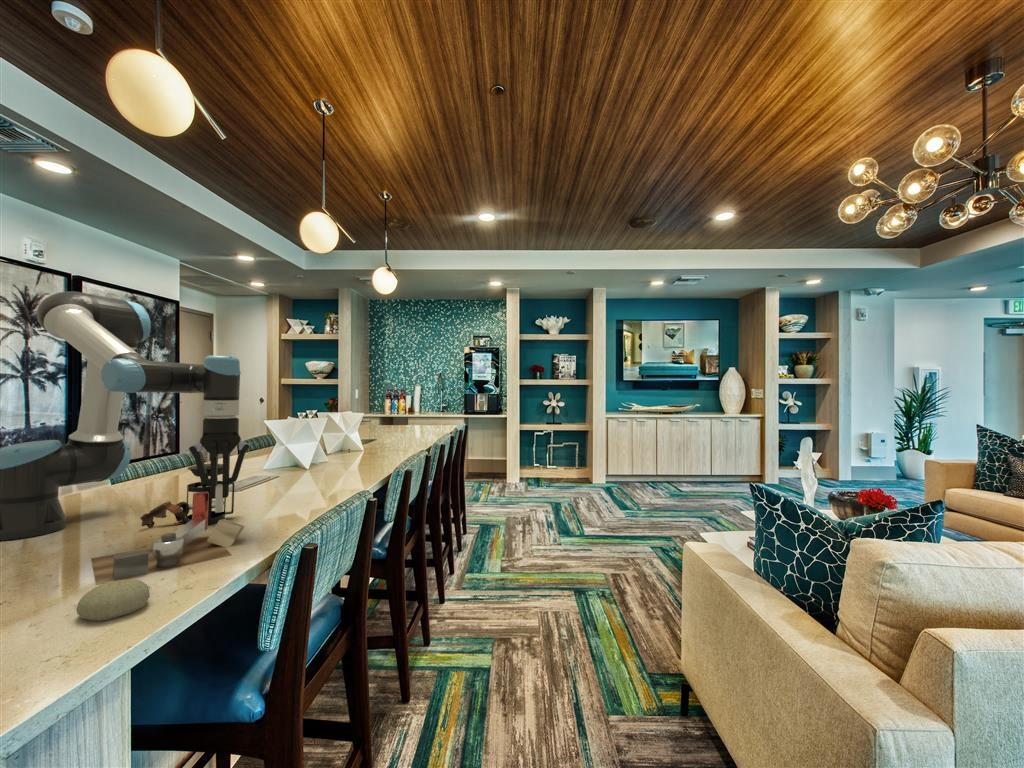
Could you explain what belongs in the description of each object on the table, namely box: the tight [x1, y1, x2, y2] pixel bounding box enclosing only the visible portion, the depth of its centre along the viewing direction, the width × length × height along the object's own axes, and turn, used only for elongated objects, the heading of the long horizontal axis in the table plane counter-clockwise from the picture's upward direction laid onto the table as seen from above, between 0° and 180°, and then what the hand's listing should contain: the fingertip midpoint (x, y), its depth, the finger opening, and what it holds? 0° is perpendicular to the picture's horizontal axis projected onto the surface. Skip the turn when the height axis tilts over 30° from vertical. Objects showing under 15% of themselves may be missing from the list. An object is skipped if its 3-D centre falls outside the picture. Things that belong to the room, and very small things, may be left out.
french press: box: [186, 446, 235, 527], centre depth 121 cm, size 12×9×23 cm
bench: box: [90, 532, 233, 586], centre depth 95 cm, size 18×22×8 cm
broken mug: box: [140, 501, 191, 529], centre depth 120 cm, size 12×9×8 cm
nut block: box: [207, 518, 245, 548], centre depth 105 cm, size 5×5×5 cm
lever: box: [152, 492, 209, 559], centre depth 99 cm, size 21×5×9 cm, turn 17°
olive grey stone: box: [75, 578, 151, 622], centre depth 75 cm, size 9×8×8 cm
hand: (219, 511), depth 109 cm, fingers closed
